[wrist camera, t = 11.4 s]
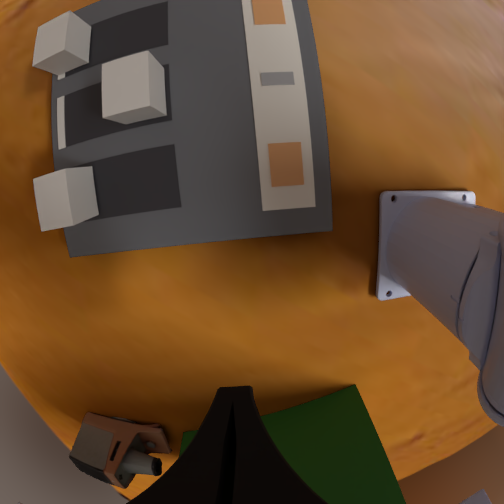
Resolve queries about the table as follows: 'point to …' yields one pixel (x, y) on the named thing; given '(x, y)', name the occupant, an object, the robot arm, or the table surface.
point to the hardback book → (333, 449)
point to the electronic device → (118, 449)
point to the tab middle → (133, 89)
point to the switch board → (199, 126)
